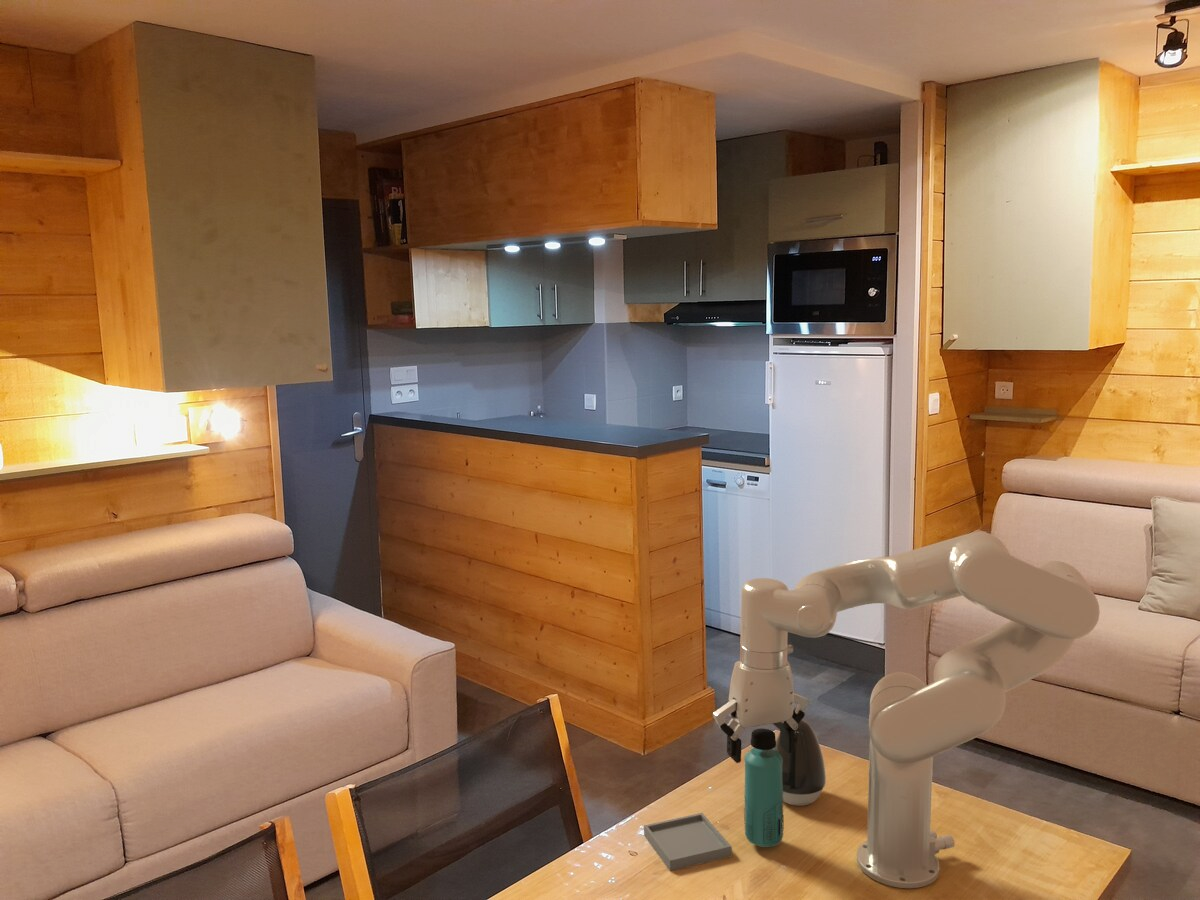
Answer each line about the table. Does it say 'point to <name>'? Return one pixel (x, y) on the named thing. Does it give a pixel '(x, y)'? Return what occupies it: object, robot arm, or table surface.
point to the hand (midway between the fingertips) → (760, 754)
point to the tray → (687, 841)
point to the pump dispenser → (802, 767)
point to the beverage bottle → (763, 791)
